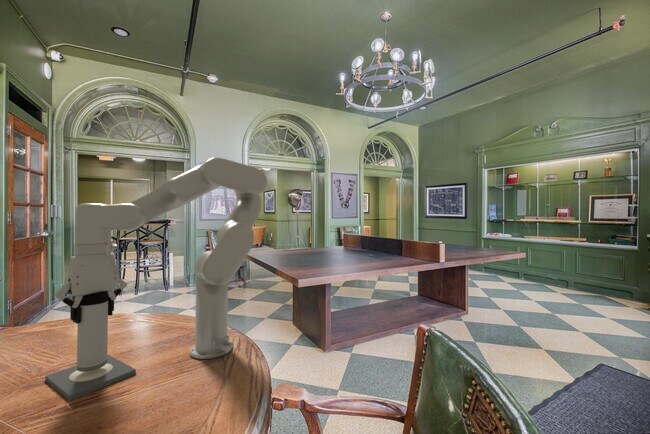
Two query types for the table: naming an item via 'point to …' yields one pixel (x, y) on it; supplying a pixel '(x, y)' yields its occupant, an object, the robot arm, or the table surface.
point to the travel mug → (92, 332)
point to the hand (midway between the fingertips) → (93, 317)
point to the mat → (88, 378)
